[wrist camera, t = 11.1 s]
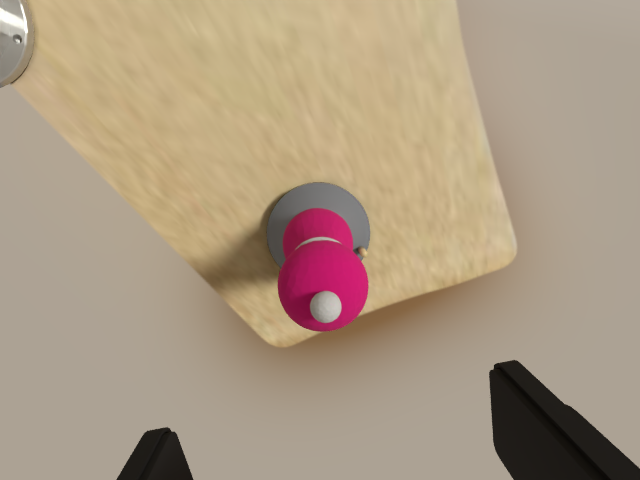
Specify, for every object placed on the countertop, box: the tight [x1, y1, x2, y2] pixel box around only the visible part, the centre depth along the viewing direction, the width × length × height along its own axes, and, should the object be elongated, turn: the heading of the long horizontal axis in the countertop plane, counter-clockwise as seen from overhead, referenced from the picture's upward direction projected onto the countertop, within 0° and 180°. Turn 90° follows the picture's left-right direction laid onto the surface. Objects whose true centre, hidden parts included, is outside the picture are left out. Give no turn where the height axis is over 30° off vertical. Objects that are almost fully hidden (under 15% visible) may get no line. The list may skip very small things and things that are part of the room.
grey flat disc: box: [267, 182, 370, 268], centre depth 36 cm, size 12×12×3 cm
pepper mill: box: [278, 208, 368, 332], centre depth 26 cm, size 7×7×20 cm
